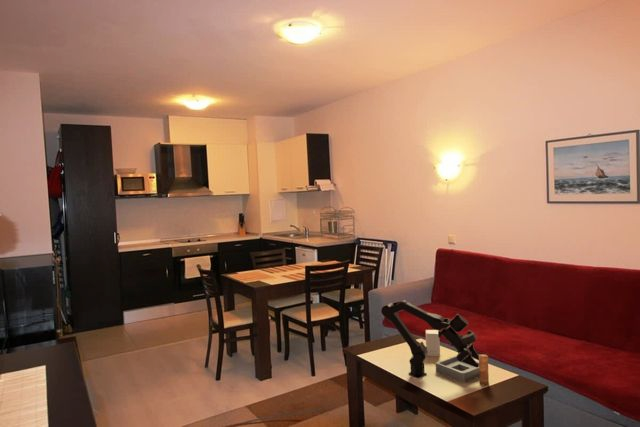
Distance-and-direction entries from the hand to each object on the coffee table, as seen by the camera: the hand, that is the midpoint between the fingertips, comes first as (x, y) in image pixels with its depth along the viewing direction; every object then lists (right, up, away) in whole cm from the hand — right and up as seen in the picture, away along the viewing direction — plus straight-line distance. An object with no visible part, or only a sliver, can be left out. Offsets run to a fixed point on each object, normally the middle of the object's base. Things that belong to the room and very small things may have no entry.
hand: (478, 363), depth 204 cm
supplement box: (-11, -9, +39) cm, 42 cm away
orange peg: (+2, -9, 0) cm, 10 cm away
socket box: (-4, -9, +12) cm, 16 cm away
